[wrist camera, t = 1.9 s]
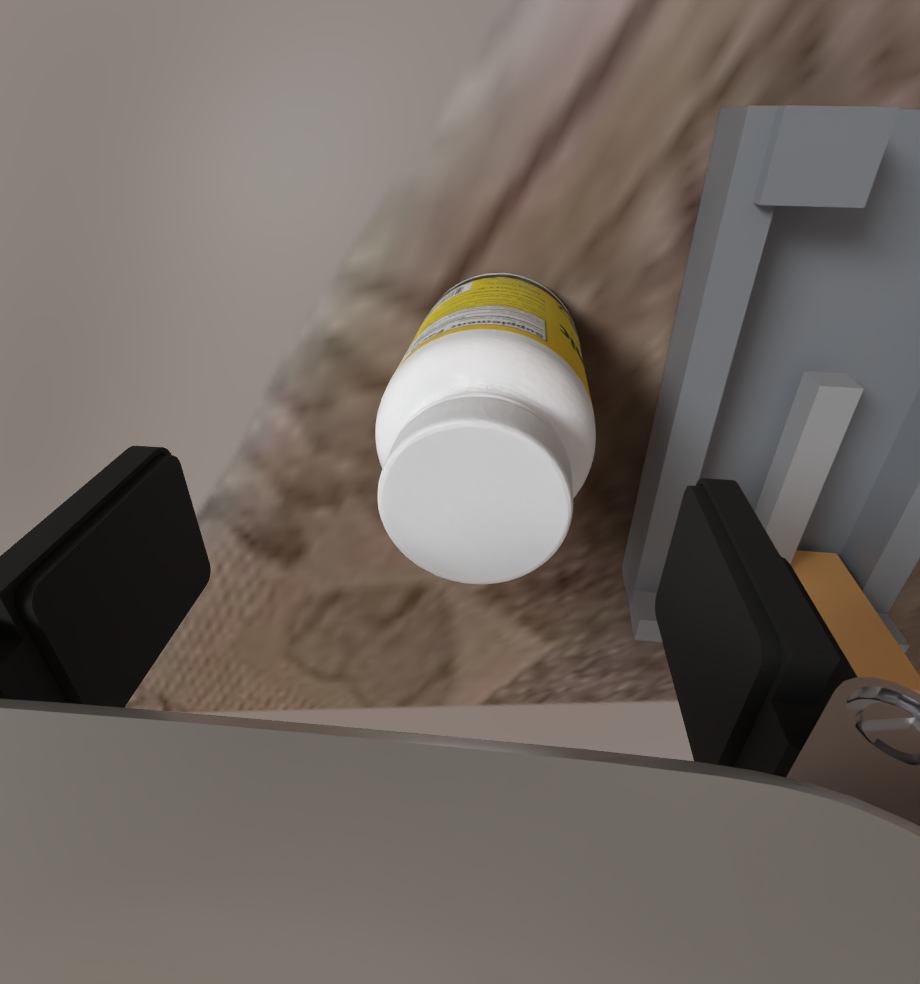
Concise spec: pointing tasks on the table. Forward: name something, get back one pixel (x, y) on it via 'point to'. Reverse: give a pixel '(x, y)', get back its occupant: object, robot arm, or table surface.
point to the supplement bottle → (486, 432)
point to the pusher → (787, 512)
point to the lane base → (796, 337)
